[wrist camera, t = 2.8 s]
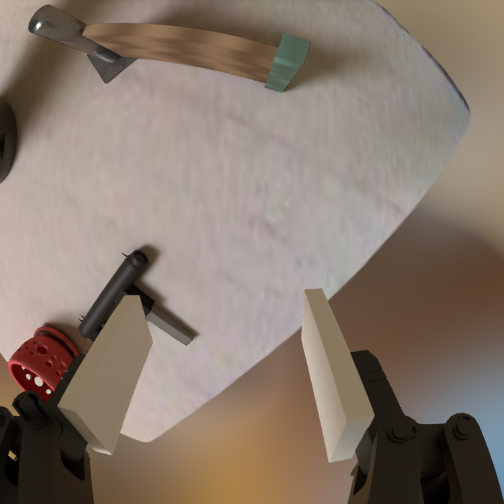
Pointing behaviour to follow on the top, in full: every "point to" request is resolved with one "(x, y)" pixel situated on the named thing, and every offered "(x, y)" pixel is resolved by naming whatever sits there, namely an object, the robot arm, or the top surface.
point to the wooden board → (205, 50)
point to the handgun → (125, 286)
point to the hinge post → (77, 40)
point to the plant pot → (42, 361)
